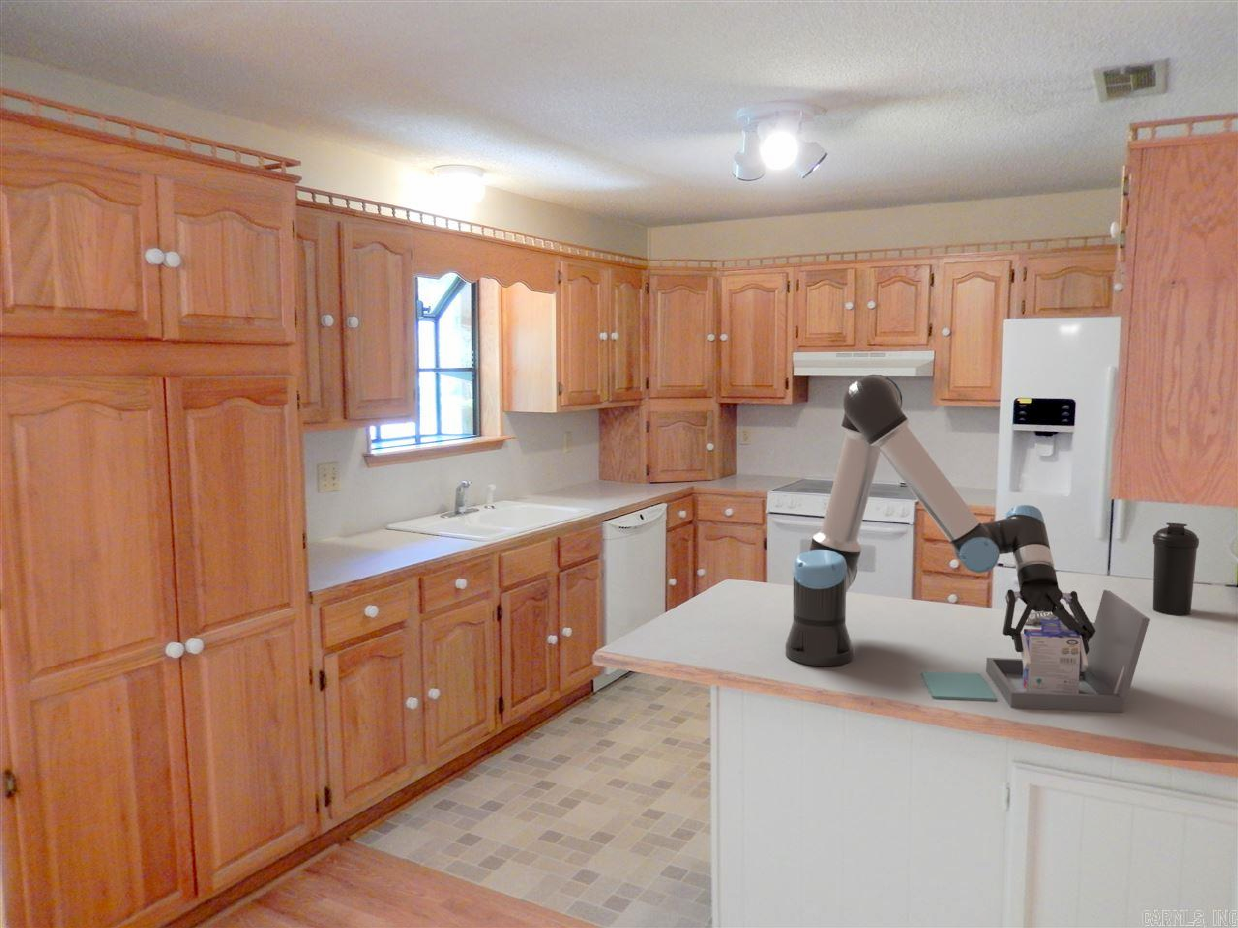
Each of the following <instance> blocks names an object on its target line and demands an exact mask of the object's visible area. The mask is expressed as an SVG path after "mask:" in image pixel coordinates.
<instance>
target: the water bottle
mask: <svg viewBox="0 0 1238 928" xmlns="http://www.w3.org/2000/svg"><path fill="white" fill-rule="evenodd" d="M1165 523H1166V525H1168V526H1167V527H1162V528H1159V529H1158V530H1156V532H1155V533H1154V534H1153V535H1152V544H1153V577H1152V581H1153V582H1152V611H1154V612H1157V613H1160V614H1164V615H1169V616H1188V615H1190V614H1191V611H1192V599H1193V591H1194V583H1195V569H1196V561H1197V553H1198V551H1197V549H1198V548H1199V545H1200V538H1199V537H1198V536H1197V534H1196V533H1195V532H1194V531H1192V530H1190V529H1188V528H1185V527H1187V525H1188V524H1187V523H1183V522H1182V523H1180V522H1165Z"/></svg>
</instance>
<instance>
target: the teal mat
mask: <svg viewBox="0 0 1238 928" xmlns="http://www.w3.org/2000/svg"><path fill="white" fill-rule="evenodd" d="M920 675H921V676H922V679H923V681H924V682H925V684H926V687H927V689H928V691H929V694H930V695H931V698H932V699H937V700H938V699H939V700H941V699H942V700H943V699H944V700H961V701H962V700H963V701H984V702H985V701H986V702H987V701H988V702H996V701H997V697H996V696H995V694H994V692H993V691H992V690H991V689H990V687H989V685H988V684H987V682H986V680H985V679H984V678H983V676H982V675H981V673H978V672H977V673H975V672H971V673H970V672H954V671H953V672H951V671H946V672H945V671H928V670H927V671H925V670H924V671H923V670H921V671H920Z"/></svg>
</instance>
